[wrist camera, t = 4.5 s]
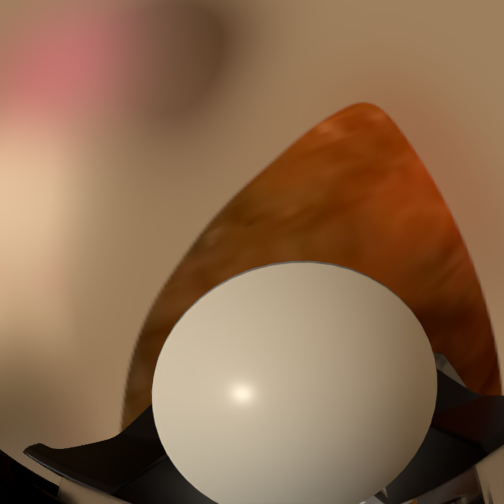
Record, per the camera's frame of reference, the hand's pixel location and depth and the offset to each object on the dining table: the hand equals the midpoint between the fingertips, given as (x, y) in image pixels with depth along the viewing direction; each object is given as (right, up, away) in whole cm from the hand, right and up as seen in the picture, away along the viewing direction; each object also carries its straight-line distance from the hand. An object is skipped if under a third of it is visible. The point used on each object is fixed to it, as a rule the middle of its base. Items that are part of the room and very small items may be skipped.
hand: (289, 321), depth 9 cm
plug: (+1, -3, +6) cm, 7 cm away
